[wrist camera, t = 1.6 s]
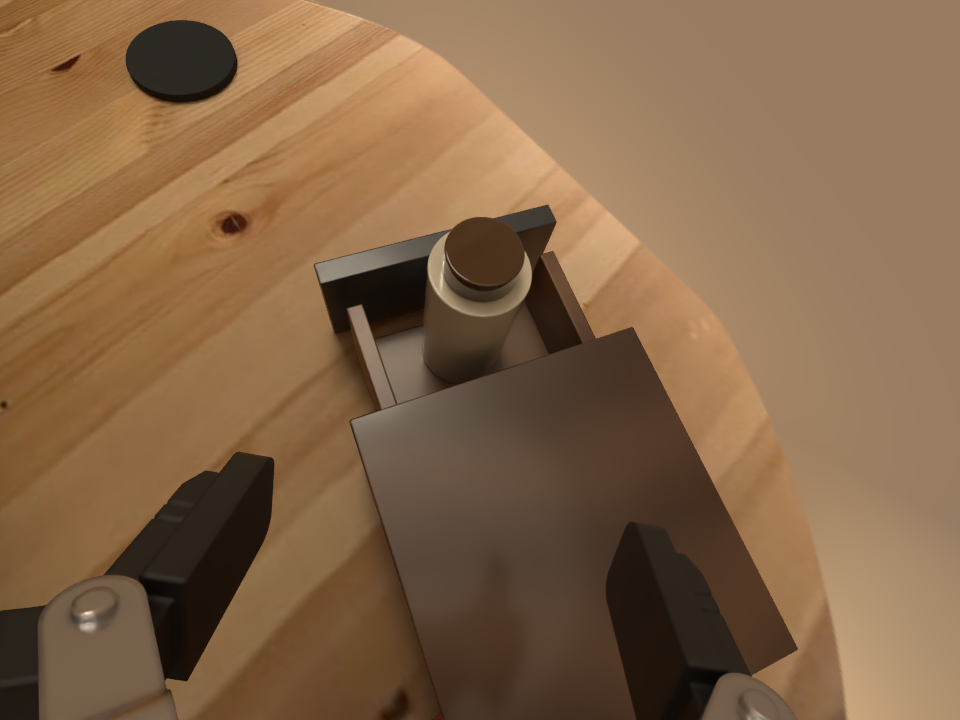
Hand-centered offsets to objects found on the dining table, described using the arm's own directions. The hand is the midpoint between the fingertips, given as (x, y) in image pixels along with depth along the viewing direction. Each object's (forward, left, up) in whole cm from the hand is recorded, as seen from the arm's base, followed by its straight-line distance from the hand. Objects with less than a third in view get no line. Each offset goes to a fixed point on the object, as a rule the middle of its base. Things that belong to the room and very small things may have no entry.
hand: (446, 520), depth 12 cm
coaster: (-34, +14, -17) cm, 40 cm away
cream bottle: (-5, +9, -15) cm, 19 cm away
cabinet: (+4, +4, -17) cm, 18 cm away
